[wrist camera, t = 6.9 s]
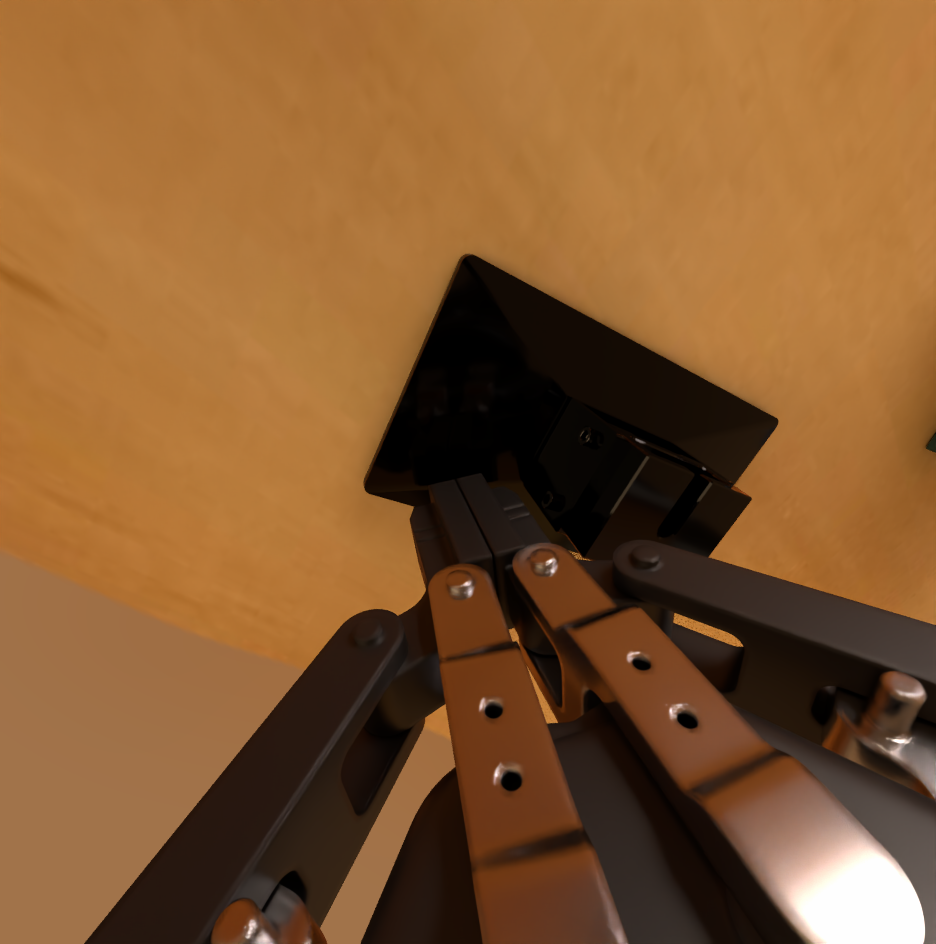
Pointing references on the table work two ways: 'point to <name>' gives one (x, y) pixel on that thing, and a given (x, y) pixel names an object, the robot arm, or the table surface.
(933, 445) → the letter tile pile
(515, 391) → the build plate
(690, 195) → the table surface
